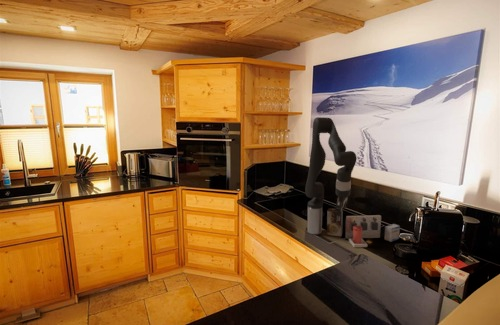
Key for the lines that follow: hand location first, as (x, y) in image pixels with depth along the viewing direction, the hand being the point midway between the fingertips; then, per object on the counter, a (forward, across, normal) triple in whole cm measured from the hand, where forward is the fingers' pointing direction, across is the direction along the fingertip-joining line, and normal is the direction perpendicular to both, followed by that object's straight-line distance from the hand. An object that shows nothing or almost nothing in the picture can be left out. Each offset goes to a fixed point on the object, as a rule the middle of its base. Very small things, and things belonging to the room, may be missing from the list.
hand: (341, 211), depth 147 cm
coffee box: (+28, -12, -6) cm, 31 cm away
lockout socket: (+24, -6, +9) cm, 27 cm away
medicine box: (+27, -23, +25) cm, 44 cm away
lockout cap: (+24, -6, +9) cm, 26 cm away
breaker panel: (+27, -15, +11) cm, 32 cm away
